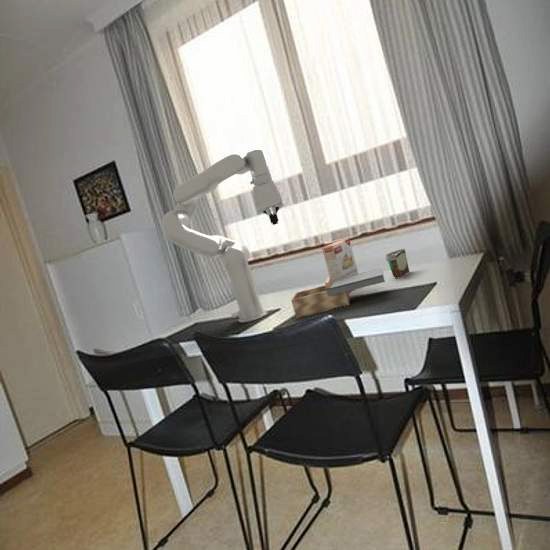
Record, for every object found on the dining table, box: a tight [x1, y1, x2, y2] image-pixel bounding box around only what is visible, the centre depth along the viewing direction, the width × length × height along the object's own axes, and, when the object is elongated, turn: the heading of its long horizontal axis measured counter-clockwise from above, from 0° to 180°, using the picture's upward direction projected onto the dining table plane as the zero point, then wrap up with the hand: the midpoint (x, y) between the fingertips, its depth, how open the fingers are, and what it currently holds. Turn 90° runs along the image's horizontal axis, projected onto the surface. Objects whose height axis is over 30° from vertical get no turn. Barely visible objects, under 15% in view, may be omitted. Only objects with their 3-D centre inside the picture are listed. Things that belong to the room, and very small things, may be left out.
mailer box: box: [290, 284, 351, 319], centre depth 176 cm, size 20×13×7 cm, turn 79°
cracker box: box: [321, 238, 359, 294], centre depth 192 cm, size 14×6×21 cm, turn 143°
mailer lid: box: [324, 267, 386, 296], centre depth 173 cm, size 21×15×5 cm
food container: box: [385, 248, 410, 279], centre depth 193 cm, size 12×6×10 cm, turn 144°
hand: (275, 224), depth 190 cm, fingers closed
